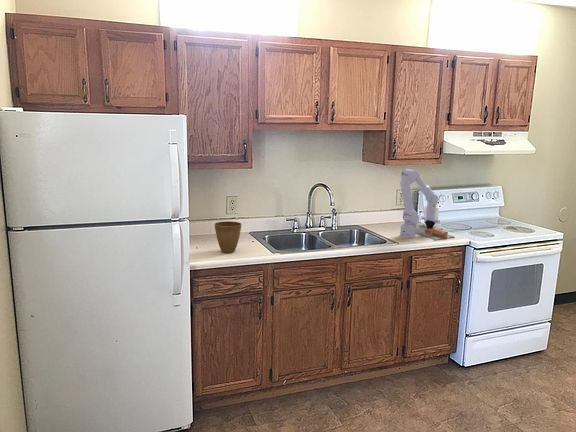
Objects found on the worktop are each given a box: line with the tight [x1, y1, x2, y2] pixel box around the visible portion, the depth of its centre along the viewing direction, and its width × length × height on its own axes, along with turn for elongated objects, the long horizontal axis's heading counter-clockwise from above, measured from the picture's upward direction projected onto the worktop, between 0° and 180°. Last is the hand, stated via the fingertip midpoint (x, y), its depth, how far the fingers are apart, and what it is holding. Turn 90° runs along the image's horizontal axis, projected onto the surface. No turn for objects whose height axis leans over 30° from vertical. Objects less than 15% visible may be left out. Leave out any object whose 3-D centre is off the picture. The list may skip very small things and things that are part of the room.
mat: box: [415, 227, 455, 242], centre depth 322 cm, size 18×30×1 cm, turn 31°
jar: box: [423, 204, 440, 228], centre depth 345 cm, size 11×10×15 cm
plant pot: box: [214, 220, 242, 254], centre depth 269 cm, size 15×15×16 cm
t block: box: [424, 227, 449, 238], centre depth 315 cm, size 12×12×4 cm
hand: (429, 231), depth 321 cm, fingers closed
